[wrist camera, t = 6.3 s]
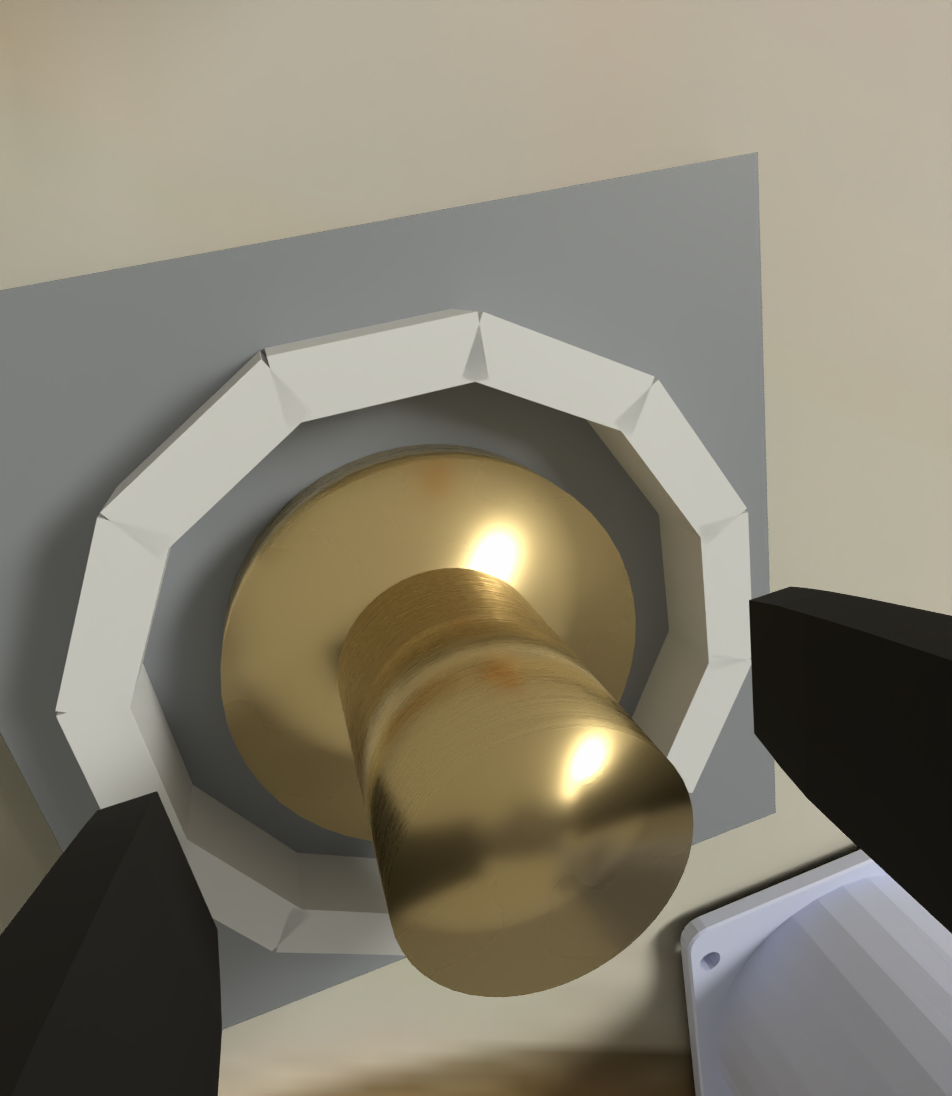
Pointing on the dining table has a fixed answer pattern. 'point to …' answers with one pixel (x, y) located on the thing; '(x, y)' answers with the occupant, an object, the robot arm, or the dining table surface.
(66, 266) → the dining table surface
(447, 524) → the brass cabinet knob
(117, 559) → the carrier plate
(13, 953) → the robot arm
